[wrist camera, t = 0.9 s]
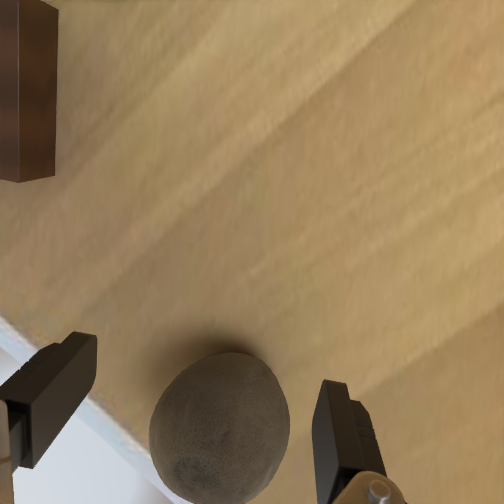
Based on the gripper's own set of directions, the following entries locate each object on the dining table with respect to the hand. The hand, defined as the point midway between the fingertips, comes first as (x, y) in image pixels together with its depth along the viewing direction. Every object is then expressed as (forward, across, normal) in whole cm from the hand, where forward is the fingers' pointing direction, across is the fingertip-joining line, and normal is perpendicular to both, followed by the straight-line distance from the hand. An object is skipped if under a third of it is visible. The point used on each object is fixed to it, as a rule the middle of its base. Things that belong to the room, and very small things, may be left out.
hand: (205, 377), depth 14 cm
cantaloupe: (+29, 0, +22) cm, 37 cm away
